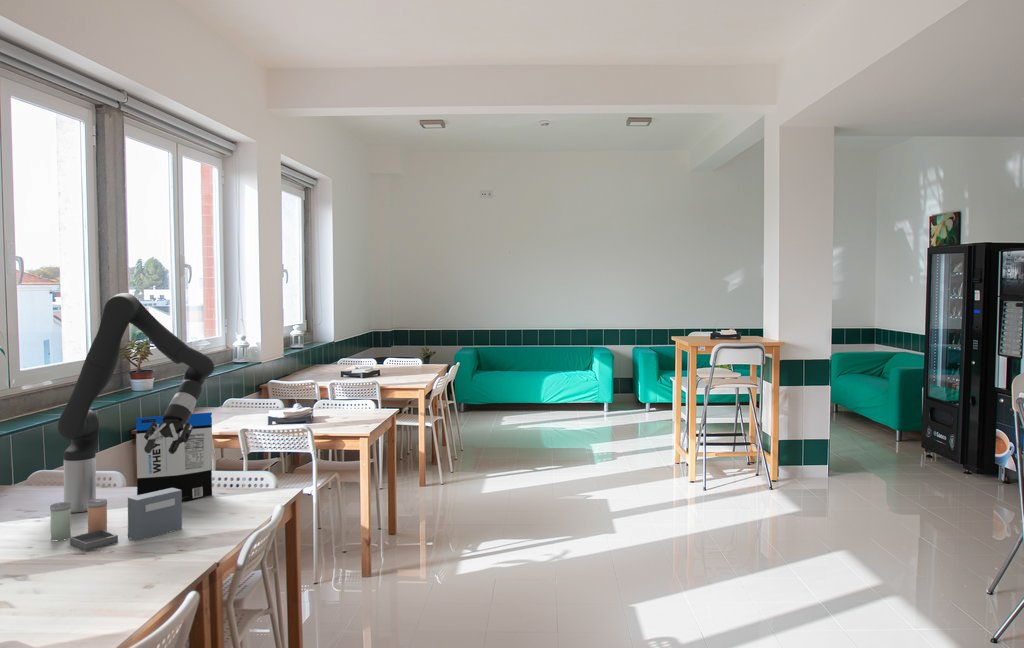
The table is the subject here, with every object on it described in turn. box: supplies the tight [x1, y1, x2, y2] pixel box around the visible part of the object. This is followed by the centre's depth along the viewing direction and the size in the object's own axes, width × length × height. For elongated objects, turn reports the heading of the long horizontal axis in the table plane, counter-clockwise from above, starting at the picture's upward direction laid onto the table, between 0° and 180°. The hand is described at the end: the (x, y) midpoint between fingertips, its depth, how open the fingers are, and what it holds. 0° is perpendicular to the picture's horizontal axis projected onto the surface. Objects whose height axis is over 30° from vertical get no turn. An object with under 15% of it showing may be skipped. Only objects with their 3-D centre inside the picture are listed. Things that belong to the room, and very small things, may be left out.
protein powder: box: [135, 412, 213, 503], centre depth 257 cm, size 10×24×30 cm, turn 123°
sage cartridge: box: [49, 501, 72, 541], centre depth 215 cm, size 5×5×10 cm
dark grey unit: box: [127, 488, 183, 542], centre depth 221 cm, size 6×14×12 cm, turn 146°
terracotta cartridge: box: [87, 498, 108, 533], centre depth 219 cm, size 5×5×10 cm
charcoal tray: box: [69, 530, 119, 552], centre depth 211 cm, size 9×9×2 cm
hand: (158, 452), depth 229 cm, fingers open, 8 cm apart
